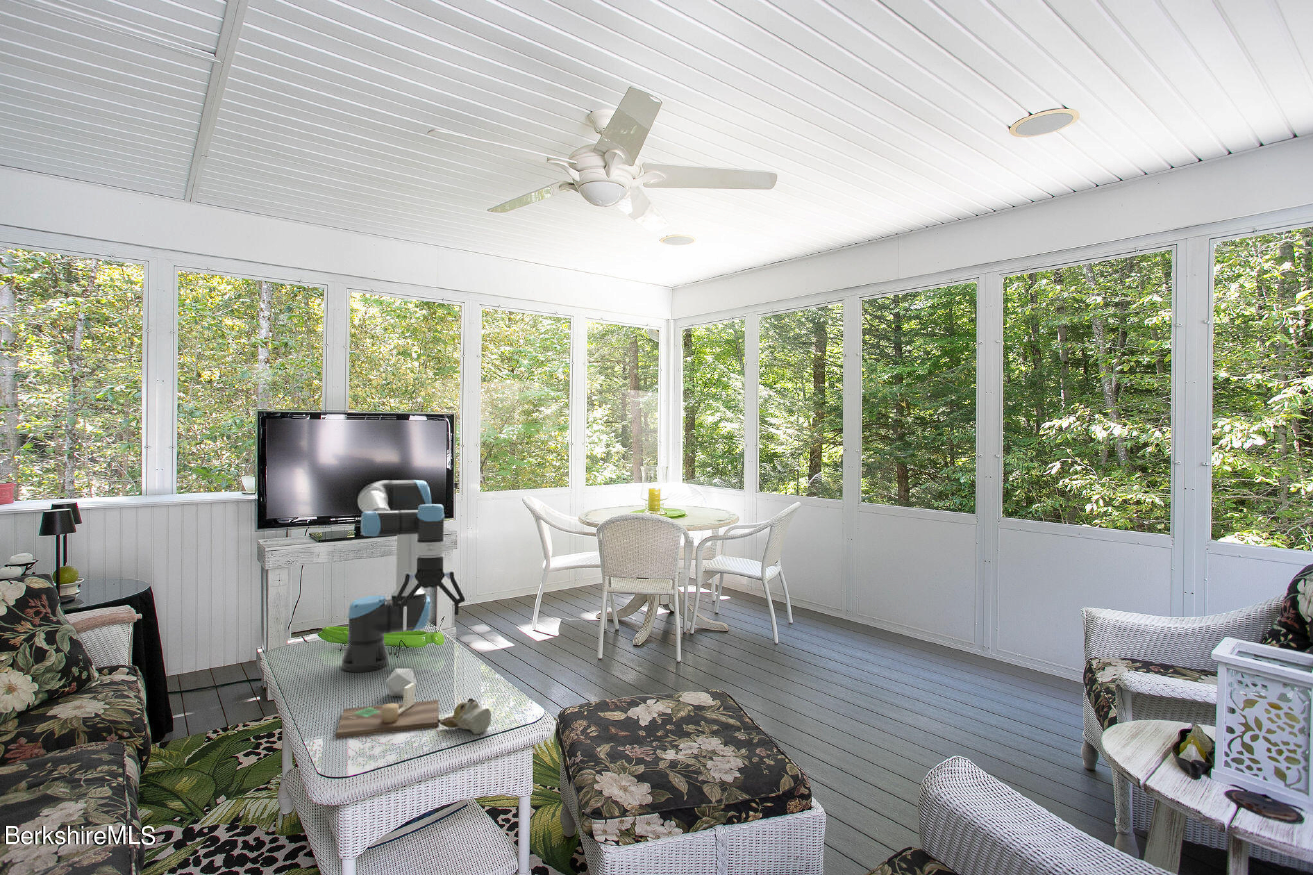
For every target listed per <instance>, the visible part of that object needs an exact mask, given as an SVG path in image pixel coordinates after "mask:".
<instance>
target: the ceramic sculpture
mask: <svg viewBox="0 0 1313 875" xmlns="http://www.w3.org/2000/svg"><path fill="white" fill-rule="evenodd" d="M437 721H438V722H439V725H442V727H443V726H444V727H446V728H448V729H455V728H459V729H462V730H466V731H467V730H469V731H471V733H473V734H474V735H480V734H484V733H485V731H486V730H488V728H489V727H490V725H491V722H492V713H491V710H490V708H487V707H485V708H482V707H481V705H480V704H479V702H478V700H476V699H473V698H472V697H471V698H468V700H465V701H462V702H460V703H458V704H457V705H456V707H455V708H454V711H453V715H452V716H447V717H445V718H441V719H440V718H439V719H438V720H437Z"/></svg>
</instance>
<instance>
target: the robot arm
mask: <svg viewBox="0 0 1313 875" xmlns="http://www.w3.org/2000/svg"><path fill="white" fill-rule="evenodd" d="M357 505H358V507H359V509H360V510H361V512H362V513H361V516H360V531H361V535H362V536H364V537H381V536H383V537H384V536H396V566H395V567H396V569H395V570H396V575H395V576H396V577H395V580H396V581H395V584H396V585H395V590H393V592H392V593H391V597H390V599H389V598H388V599H386V597H385V595H380V594H379V595H368V596H365V597H360V598H358V599H356V600H354V601H352V602H351V603H350V605H349V607H348V608H349V609H348V615H347V618H348V629H347V630H348V632H347V646H346V648H345V651H344V654H343V656H342V658H341V659H342V660H341V670H343V671H346V672H349V673H350V672H351V673H365V672H371V671H372V672H373V671H376V670H380V669H383V668H385V667H386V666H388V665H389V662H390V660H389V658H390V656H389V652H388V650H387V647H386V644H385V635H386V634H395V633H403V632H414V631H418V630H423V629H425V627H426V626H427V624H428V622H429V617H430V614H431V613H430V612H431V598H430V596H428V595H427V594H426V593H427V591H426V590H424V589H429V588H432V589H433V588H434V589H435V588H437V587H439V589H440V590H441V591H442V592H443V593H444V594H445V595H446V596H447V597H448V598H449V599H450V601H452V602H453V603H452V604H451V628H455V621H456V620H455V616H458V615H459V614H460V613H459V608H460V607H459V606H460V604H461V603H464V602H465V601H466V599H465V596H464V594H463V591H462V590H461V589H460V588H461V587H459V585H458V582H457V581H456V579H455V572H454V571H453V570H450V571H447V572H446V571H445V572H444V557H443V555H444V544H445V543H444V531H445V530H444V528H445V527H444V526H445V510H444V509H445V507H444V505H443V504H440V503H436V504H435V503H432V495H431V490H430V486H429V484H428V483H427V482H426V481H425V480H420V479H419V480H418V479H401V480H400V479H398V480H397V479H395V480H394V479H392V480H390V479H388V480H387V479H386V480H385V479H384V480H378V481H374V482H371V483H370V484H368V485H366V486H365V487H364V488H362V489H361V490H360V492H359V494H358V496H357ZM444 578H447V580H449V581H450V582H451V584H452V586H453V588H454V590H455V592H456V594H457V597H458V598H457V597H456V595H454V594H453V593H452V591H451V590H450V589H449V588H448V587H447V586H446V585H445V583H444V582H443V580H444Z"/></svg>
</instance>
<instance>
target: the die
mask: <svg viewBox="0 0 1313 875" xmlns="http://www.w3.org/2000/svg"><path fill="white" fill-rule="evenodd" d="M384 683H385V685H386V687H387V690H388V692H389V694H390V697H399V698H400V697H402V698H404V687H406V686H408V685H409V684H411V683H415V686H416V685H417V684H418V682H417V678H416V677H415V674H414V672H413V669H412V668H394V670H393V671H392V672H391V674H390V675H389V676H388V677H387V679H386V681H385V682H384Z"/></svg>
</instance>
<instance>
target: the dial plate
mask: <svg viewBox="0 0 1313 875" xmlns="http://www.w3.org/2000/svg"><path fill="white" fill-rule="evenodd" d="M397 704H398V705H399V708H398V710H399V709H401V708H402V707H403V702H401V703H399V702H398V703H397ZM383 705H384V704H381V705H378V704H377V705H369V706H360V707H359V706H358V707H348V708H343V711H342V713H341V717H340V720H339V724H338V726H337V729H336V733H335V734H336V735H335V738H336V739H341V738H350V737H358V736H370V735H377V734H387V733H388V734H389V733H397V732H404V731H405V732H407V731H415V730H422V729H423V730H424V729H433V728H439V727H440V723H439V722H438V721H437V720H438V719H440V714H439V713H440V708H439V705H440V704H439V699H432V700H421V701H415V704H413V705H412V706H411V707H409V708H408V709H406V710H404V711H403V712H402V713H400V714H399V715H398V720H397V721H395V722H391V723H384V722H382V721H381V710H382V706H383Z"/></svg>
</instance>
